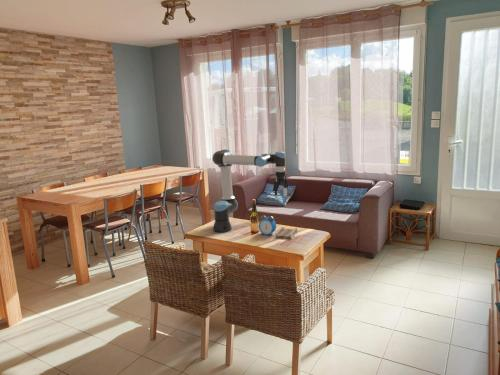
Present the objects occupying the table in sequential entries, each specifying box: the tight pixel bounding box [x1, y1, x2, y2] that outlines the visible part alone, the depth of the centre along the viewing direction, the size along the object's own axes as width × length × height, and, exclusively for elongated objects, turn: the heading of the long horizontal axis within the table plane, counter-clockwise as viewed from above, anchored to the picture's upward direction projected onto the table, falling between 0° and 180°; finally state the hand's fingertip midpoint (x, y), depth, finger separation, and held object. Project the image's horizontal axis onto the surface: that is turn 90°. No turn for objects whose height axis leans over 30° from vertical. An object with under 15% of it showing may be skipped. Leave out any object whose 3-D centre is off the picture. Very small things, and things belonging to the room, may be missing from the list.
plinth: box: [275, 226, 298, 240], centre depth 315 cm, size 12×18×4 cm
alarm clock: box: [258, 214, 277, 236], centre depth 317 cm, size 13×6×15 cm, turn 63°
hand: (280, 197), depth 323 cm, fingers open, 13 cm apart
